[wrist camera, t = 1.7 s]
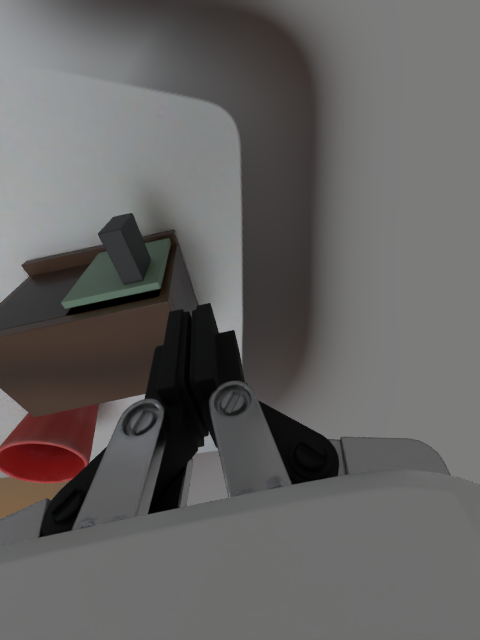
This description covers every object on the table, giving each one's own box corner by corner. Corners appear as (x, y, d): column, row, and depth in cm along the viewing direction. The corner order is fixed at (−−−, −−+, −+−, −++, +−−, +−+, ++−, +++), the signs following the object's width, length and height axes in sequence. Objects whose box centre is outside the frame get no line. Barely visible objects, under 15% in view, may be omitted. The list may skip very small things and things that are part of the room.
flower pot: (20, 408, 41) (-22, 474, 33) (50, 368, 37) (10, 433, 29) (88, 428, 46) (65, 489, 38) (120, 395, 42) (103, 457, 34)
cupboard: (25, 261, 28) (-65, 333, 18) (174, 229, 28) (161, 285, 18) (79, 335, 34) (34, 417, 25) (200, 309, 34) (200, 382, 25)
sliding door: (77, 212, 24) (24, 252, 17) (155, 196, 24) (136, 228, 17) (101, 258, 27) (64, 309, 20) (171, 243, 27) (161, 288, 20)
